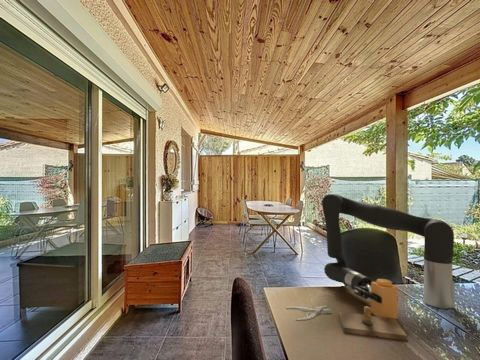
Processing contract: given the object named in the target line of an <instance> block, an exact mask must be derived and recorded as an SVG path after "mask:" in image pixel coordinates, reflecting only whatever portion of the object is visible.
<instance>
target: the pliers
mask: <svg viewBox="0 0 480 360" xmlns="http://www.w3.org/2000/svg"><path fill="white" fill-rule="evenodd" d="M285 308H286V309H287V310H299V311H302V312H306V313H307V314H306V316H304V317H299V318H296V319H295V320H296V321H297V322H299V321H308V320H311V319H313V318H316V317H317V315H319V314H322V315H323V314H325V315H326V314H332V308H328V305H319V306H316V307H315V308H311V307H310V308H309V307H305V306H296V305H295V306H293V305H292V306H286V307H285ZM311 312H312V313H311Z"/></svg>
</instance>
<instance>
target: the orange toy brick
mask: <svg viewBox="0 0 480 360" xmlns="http://www.w3.org/2000/svg"><path fill="white" fill-rule="evenodd" d="M371 291H372V292H373V293H375V294H377V295H379V296H380V297H381V298H382V303H378V302H377V301H375V300H373V299H370V308H371V314H373V315H374V316H380V317H389V318H395V319H396V320H397V319H398V310H399V309H398V307H399V306H398V302H399V296H398V294H399V287H398V286H397V285H396V284H395V285H394V284H393V283H392V281H391V280H389V279H385V278H377V279H376V281H373V282H371Z"/></svg>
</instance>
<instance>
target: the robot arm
mask: <svg viewBox="0 0 480 360" xmlns="http://www.w3.org/2000/svg"><path fill="white" fill-rule="evenodd" d="M321 207H322V211H323V216H324V222H325V229H326V231H325V232H326V248H327V249H326V250H327V255H328V257H329V258H331V259H335V260H336V262H328V263H327V264H325V266H324V269H323V271H324V273H325V275H326V277H327V278H328V279H329V280H332V281H334V282H337V283H342V284H343V285H346V286H347V287H348V288H349V289H351V290H352V291H354V292H353V293H354V294H355V295H356V296H359V297H360V298H362V299H365V300H368V299H370V300H371V299H373V300H375V301H377V302H378V303H382V298H381V297H380V296H379V295H377V294H375V293H373V292H372V291H371V282H374V281H373V280H372V279H371V278H370V277H368V276H367V275H364V274H363V273H360V272H358V271H355V270H353V269H351V268H349V267H348V264H347V262H346V258H345V255H344V246H343V236H342V232H341V226H340V214H342V215H347V216H351V217H354V218H357V219H359V220H361V221H363V222H365V223H367V224H370V225H373V226H376V227H379V228H382V229H389V230H394V231H401V232H408V233H412V234H415V235H417V236H420V237H424V250H423V302H424V303H425V304H426V305H428V306H431V307H433V308H438V309H441V310H442V309H444V310H450V309H455V307H456V299H455V298H456V283H454V282H453V258H454V247H455V245H454V243H455V236H454V230H453V228H452V227H451V226H450V224H449V223H447V222H446V221H444V220H441V219H434V218H427V217H424V216H416V215H413V214H409V213H407V212H404V211H401V210H398V209H394V208H391V207H388V206H384V205H379V204H376V203H370V202H363V201H356V200H353V199H351V198H348V197H344V196H341V195H339V194H336V193H329V194H326V195H324V196H323V197H322V200H321Z"/></svg>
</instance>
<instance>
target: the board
mask: <svg viewBox="0 0 480 360" xmlns="http://www.w3.org/2000/svg"><path fill="white" fill-rule="evenodd" d="M338 317H339V321H340V324H341V328H342V331H343V333H346V334H347V333H348V334H355V335H361V336H370V337H376V336H378V337H377V338H386V339H393V340H400V341H408V334H407V333H406V332H405V330H404V329H403V328H402V326H401V325H400V324H399V323H398V321H397V319H395V318H389V317H380V316H376V315H372V312H371V306H367V305H365V306H363V314H362V313H353V312H345V311H338Z"/></svg>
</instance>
